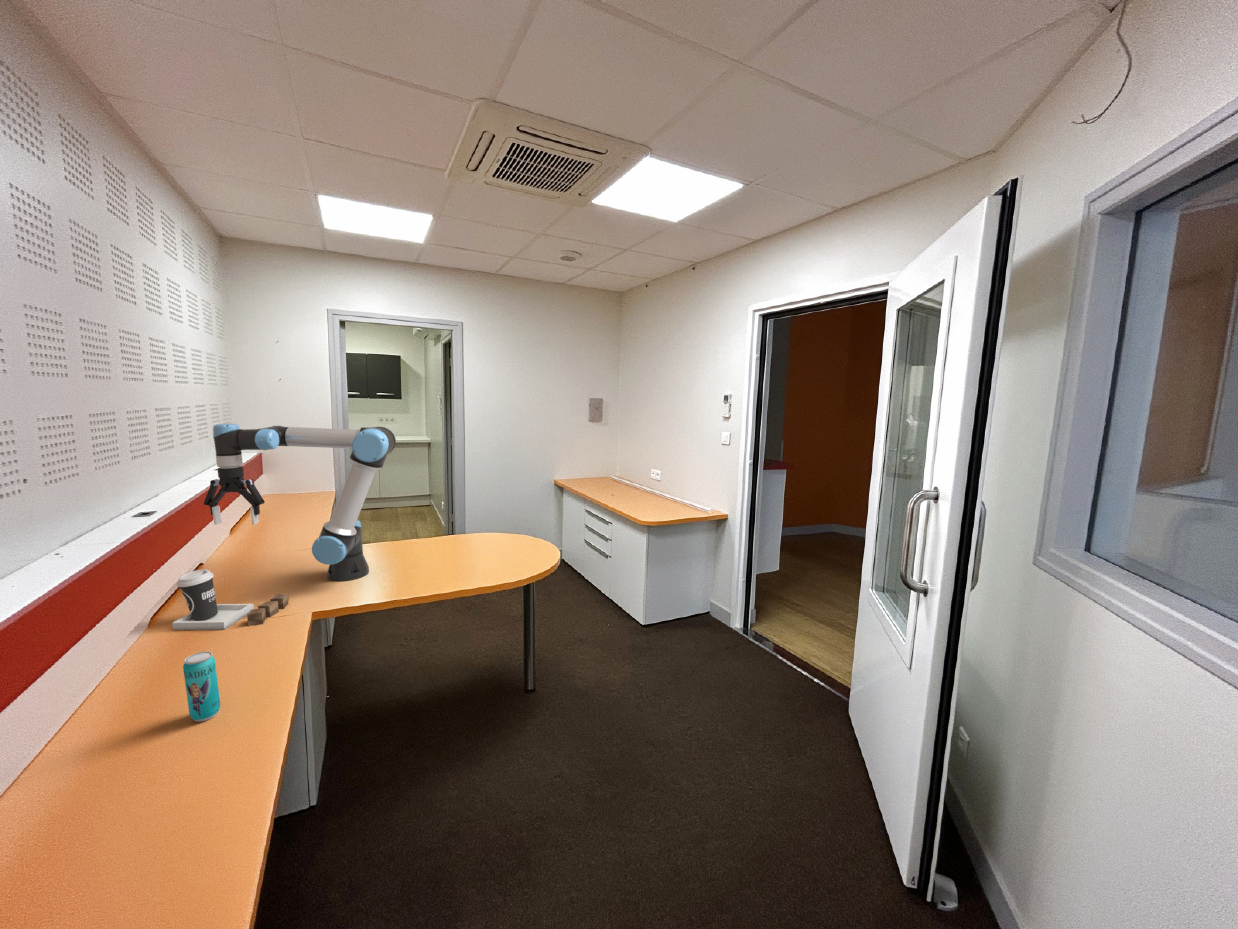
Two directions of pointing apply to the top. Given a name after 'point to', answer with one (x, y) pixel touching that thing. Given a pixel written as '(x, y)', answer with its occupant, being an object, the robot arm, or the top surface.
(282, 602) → the block
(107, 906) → the top surface
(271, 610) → the block
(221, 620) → the tray
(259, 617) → the block
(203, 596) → the coffee cup
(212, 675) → the beverage can
